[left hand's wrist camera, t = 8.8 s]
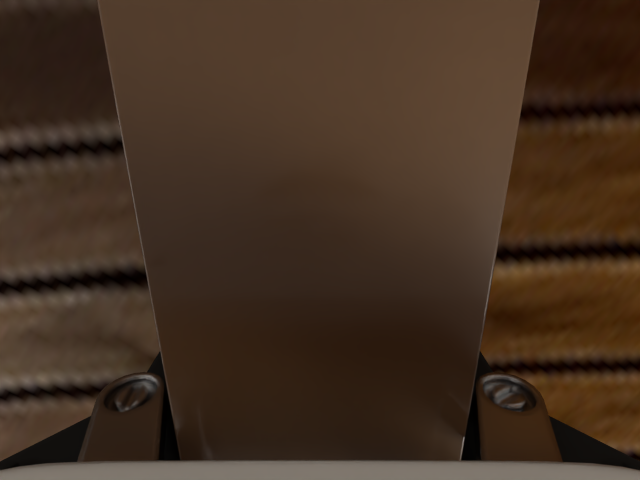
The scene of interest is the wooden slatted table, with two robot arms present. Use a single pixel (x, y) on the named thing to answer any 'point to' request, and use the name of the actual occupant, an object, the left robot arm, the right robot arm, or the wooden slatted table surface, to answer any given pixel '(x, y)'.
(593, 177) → the wooden slatted table surface
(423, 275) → the beam
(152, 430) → the left robot arm
